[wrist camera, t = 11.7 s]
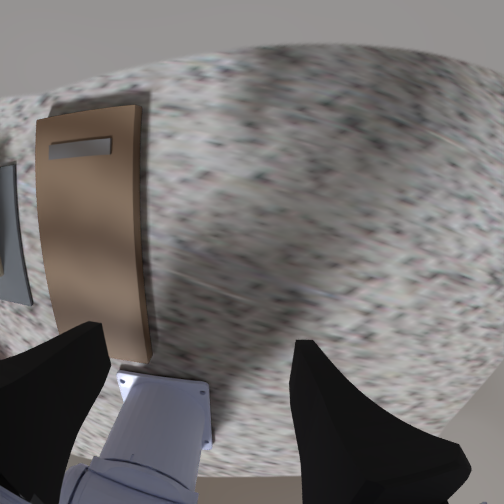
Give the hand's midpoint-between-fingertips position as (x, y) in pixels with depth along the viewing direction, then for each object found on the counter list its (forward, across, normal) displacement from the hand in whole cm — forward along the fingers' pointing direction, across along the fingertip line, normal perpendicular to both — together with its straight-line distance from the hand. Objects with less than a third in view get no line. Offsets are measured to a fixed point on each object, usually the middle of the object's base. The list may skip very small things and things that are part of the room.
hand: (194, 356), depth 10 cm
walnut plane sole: (+10, +10, -1) cm, 14 cm away
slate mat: (+10, +22, -1) cm, 24 cm away
